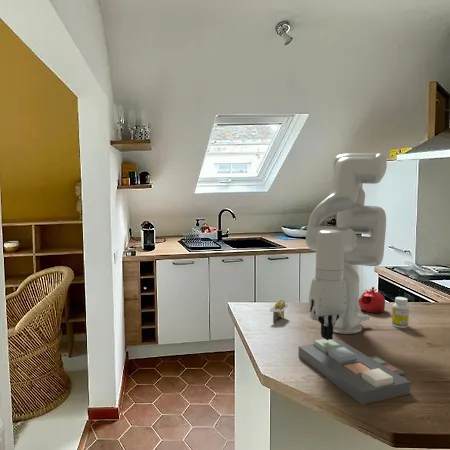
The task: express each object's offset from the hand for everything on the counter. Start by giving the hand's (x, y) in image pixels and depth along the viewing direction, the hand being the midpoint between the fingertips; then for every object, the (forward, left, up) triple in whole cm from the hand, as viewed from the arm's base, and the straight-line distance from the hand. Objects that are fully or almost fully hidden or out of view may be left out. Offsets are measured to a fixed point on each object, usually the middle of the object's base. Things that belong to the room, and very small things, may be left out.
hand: (326, 338), depth 125 cm
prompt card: (-11, +10, -6) cm, 16 cm away
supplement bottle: (-39, -14, -6) cm, 42 cm away
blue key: (0, +7, -4) cm, 8 cm away
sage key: (0, 0, -4) cm, 4 cm away
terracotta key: (0, +14, -6) cm, 15 cm away
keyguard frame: (0, +10, -6) cm, 12 cm away
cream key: (0, +21, -4) cm, 21 cm away
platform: (-3, -34, -7) cm, 35 cm away
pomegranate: (-41, -31, -6) cm, 52 cm away
